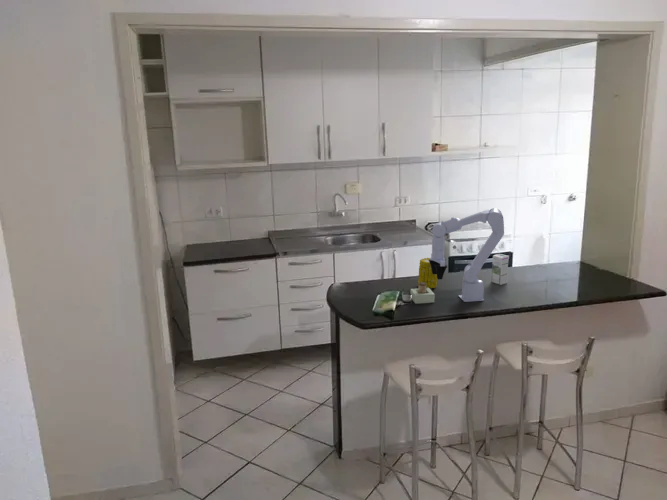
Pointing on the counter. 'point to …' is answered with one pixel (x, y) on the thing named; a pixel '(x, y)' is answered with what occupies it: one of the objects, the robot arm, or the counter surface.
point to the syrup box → (499, 269)
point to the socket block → (422, 296)
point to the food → (427, 274)
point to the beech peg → (422, 288)
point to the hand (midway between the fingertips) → (437, 276)
